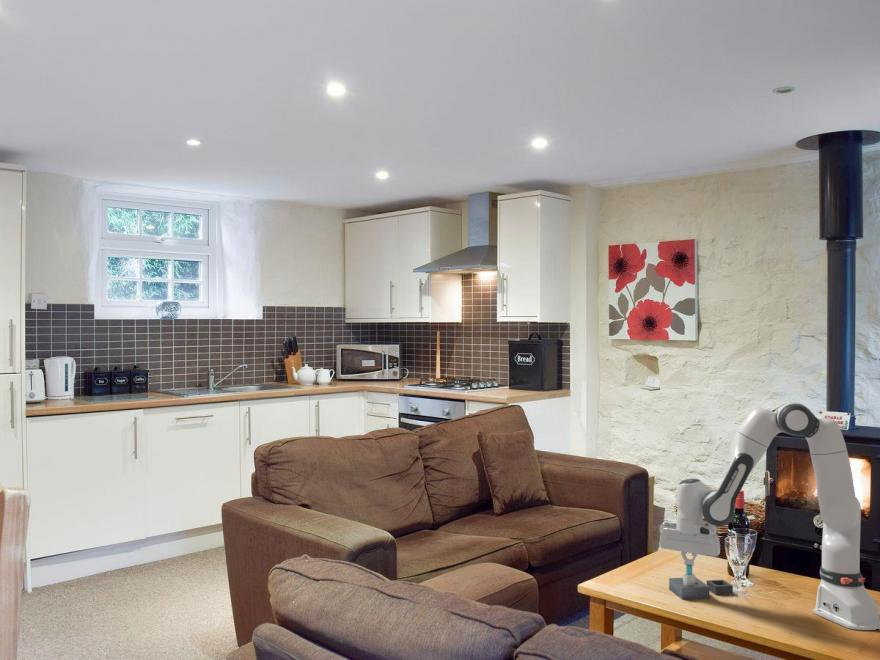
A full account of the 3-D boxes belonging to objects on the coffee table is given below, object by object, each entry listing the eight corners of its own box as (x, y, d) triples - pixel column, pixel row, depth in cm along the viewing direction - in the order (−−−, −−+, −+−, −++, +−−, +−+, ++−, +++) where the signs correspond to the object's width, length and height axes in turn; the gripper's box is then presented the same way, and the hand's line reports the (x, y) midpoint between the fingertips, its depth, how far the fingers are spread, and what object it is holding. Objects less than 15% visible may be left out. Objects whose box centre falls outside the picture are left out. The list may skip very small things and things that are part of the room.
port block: (709, 598, 260) (709, 586, 260) (681, 599, 258) (682, 587, 258) (695, 588, 270) (695, 577, 270) (669, 589, 268) (669, 578, 268)
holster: (732, 594, 264) (732, 585, 264) (715, 594, 263) (715, 586, 263) (723, 588, 270) (723, 579, 270) (706, 588, 269) (706, 580, 269)
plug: (695, 595, 263) (695, 566, 263) (687, 595, 262) (687, 566, 262) (691, 592, 266) (691, 563, 266) (683, 592, 265) (683, 564, 265)
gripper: (657, 523, 267) (656, 562, 267) (717, 531, 256) (717, 572, 256) (662, 519, 272) (661, 557, 272) (721, 527, 261) (721, 567, 261)
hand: (689, 564), depth 264 cm, fingers closed
